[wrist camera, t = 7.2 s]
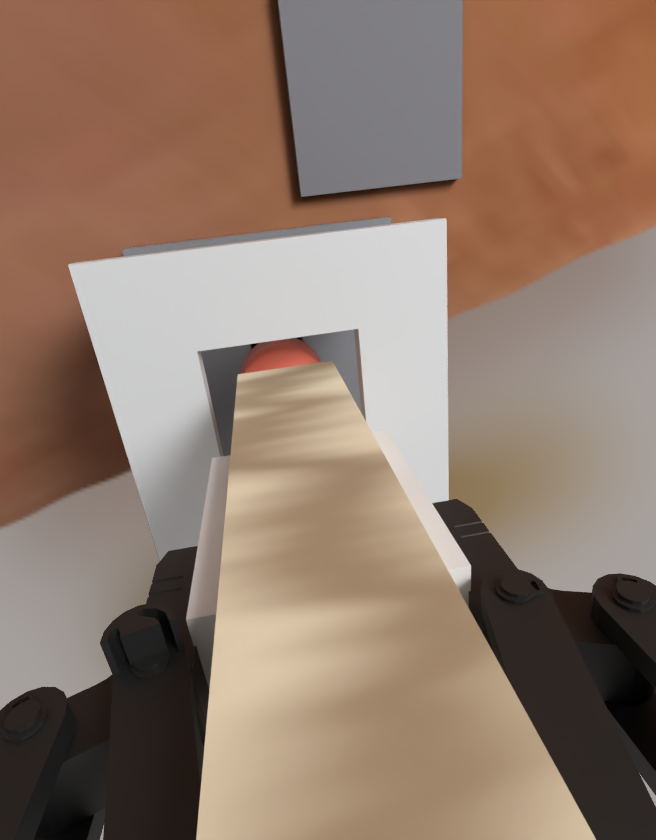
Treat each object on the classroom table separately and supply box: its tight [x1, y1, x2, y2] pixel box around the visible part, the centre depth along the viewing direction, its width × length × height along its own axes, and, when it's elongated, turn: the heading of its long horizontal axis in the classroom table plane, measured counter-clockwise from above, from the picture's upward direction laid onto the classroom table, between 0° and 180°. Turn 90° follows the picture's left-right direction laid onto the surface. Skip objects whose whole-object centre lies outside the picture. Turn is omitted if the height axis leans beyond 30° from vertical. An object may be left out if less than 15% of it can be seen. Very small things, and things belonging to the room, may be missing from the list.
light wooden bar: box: [196, 361, 596, 840], centre depth 13 cm, size 4×4×18 cm
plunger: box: [240, 338, 322, 374], centre depth 25 cm, size 4×4×5 cm
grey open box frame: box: [68, 217, 449, 561], centre depth 25 cm, size 14×14×10 cm
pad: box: [277, 0, 463, 197], centre depth 25 cm, size 9×9×1 cm
